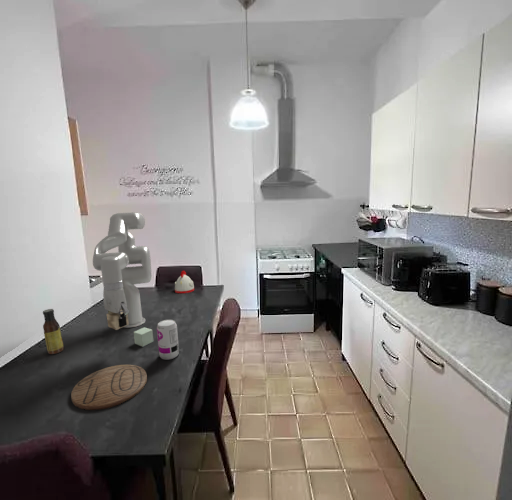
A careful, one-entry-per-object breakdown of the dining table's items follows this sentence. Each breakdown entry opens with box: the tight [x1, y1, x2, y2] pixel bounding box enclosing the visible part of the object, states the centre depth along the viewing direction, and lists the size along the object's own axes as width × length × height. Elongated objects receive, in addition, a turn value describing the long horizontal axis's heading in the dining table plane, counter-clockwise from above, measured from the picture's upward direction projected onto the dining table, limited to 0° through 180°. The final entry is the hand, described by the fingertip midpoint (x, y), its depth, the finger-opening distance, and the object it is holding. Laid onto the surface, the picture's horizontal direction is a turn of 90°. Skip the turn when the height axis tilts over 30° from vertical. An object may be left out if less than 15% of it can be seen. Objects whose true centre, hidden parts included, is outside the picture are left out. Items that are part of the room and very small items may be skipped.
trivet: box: [70, 364, 148, 411], centre depth 113 cm, size 25×25×2 cm
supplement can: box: [156, 319, 180, 361], centre depth 133 cm, size 8×8×15 cm
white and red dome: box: [174, 270, 195, 294], centre depth 227 cm, size 14×14×15 cm
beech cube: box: [106, 309, 129, 331], centre depth 136 cm, size 6×6×6 cm
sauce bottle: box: [42, 308, 64, 355], centre depth 140 cm, size 7×6×20 cm
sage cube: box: [133, 327, 154, 347], centre depth 147 cm, size 6×6×6 cm
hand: (118, 324), depth 136 cm, fingers closed on beech cube, 6 cm apart
